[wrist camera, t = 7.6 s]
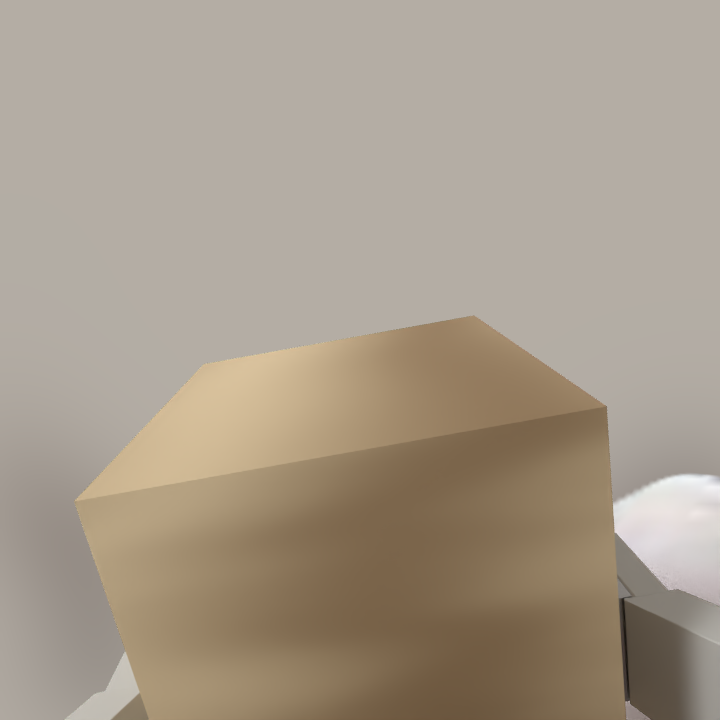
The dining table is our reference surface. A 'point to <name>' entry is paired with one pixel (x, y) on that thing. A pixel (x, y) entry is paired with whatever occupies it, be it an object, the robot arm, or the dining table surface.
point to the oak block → (367, 537)
